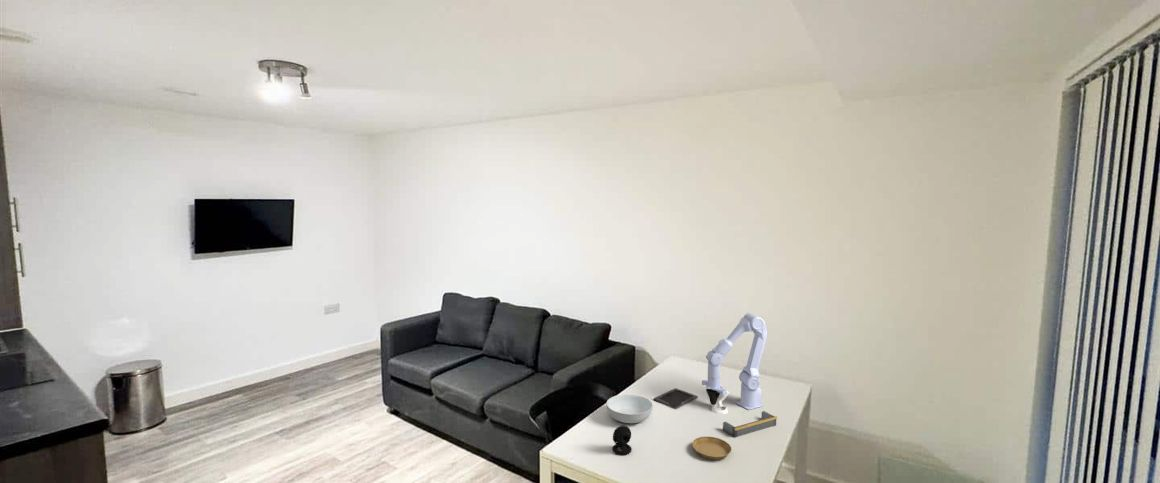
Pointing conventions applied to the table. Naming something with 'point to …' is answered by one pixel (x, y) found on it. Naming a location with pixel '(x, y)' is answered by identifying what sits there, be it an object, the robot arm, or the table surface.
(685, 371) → the table surface
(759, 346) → the robot arm
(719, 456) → the plant saucer
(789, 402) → the table surface
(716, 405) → the hook
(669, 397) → the picture frame
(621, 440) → the webcam
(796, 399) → the table surface
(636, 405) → the serving bowl
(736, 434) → the tray
